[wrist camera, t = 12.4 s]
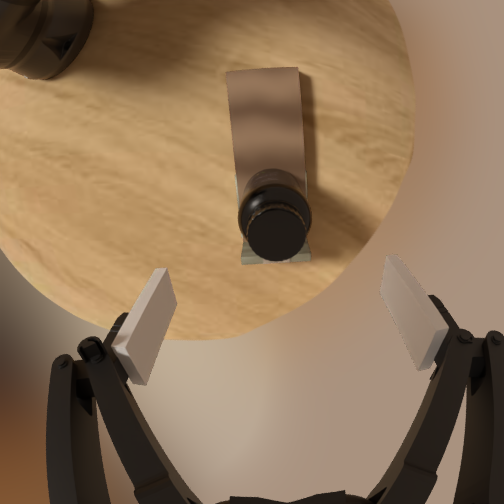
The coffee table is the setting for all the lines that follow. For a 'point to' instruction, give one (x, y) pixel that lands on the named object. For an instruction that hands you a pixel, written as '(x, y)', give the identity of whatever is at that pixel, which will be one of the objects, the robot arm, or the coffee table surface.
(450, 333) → the robot arm
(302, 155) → the rail flange
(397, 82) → the coffee table surface
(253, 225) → the supplement bottle
